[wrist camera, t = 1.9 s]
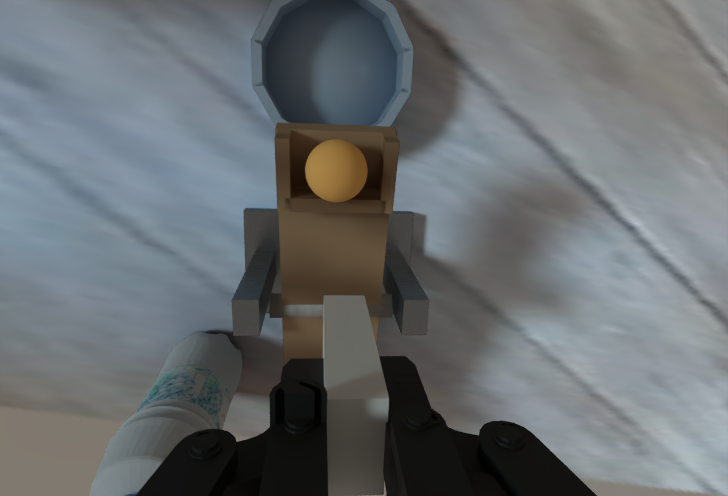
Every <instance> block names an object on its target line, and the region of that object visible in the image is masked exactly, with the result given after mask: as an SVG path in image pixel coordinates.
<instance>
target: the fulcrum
mask: <svg viewBox="0 0 728 496" xmlns="http://www.w3.org/2000/svg"><path fill="white" fill-rule="evenodd" d="M412 227H413V213H412V212H407V211H393V212H392V214H389V222H388V232H387V242H386V252H385V263H384V273H383V283H382V294H391V295H392V313H394V315H395V318H396V321H397V323H398V326H399V329H400V332H401V334H402V335H426V331H427V319H428V306H429V299H428V298H427V296H426V294H425V293H424V291H423V289H422V287H421V286H420V284H419V282H418V281H417V279H416V277H415V275H414V274H413V272H412V270H411V269H410V257H411V242H412ZM244 240H245V274H244V276H243V278H242V280H241V282H240V284H239V286H238V288H237V290H236V292H235V294H234V297H233V299H232V315H233V336H260V332H261V329H262V325H263V321H264V318H265V314H266V313H269V302H270V294H271V293H282V292H281V265H280V239H279V212H277V209H257V208H245V209H244Z"/></svg>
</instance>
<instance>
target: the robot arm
mask: <svg viewBox="0 0 728 496" xmlns="http://www.w3.org/2000/svg"><path fill="white" fill-rule="evenodd" d="M384 480H385V486H386V492H387V496H597V495H596V494H595V493H594V492H592V491H591V490H590V489H589V488H588V487H587V486H586V485H585V484H584V483H583V482H582V481H581V480H580V479H579V478H578V477H577V476H576V475H575V474H574V473H573V472H572V471H571V470H570V469H569V468H568V467H567V466H566V465H565V464H564V463H563V462H561V461H560V460H559V459H558V458H557V457H556V456H555V455H554V454H553V453H552V452H551V451H550V450H549V449H548V448H547V447H546V446H545V445H544V444H543V443H542V442H541V441H540V440H539V439H538V438H537V437H536V436H535V435H534V434H533V433H531V432H530V431H528V430H527V429H526V428H524V427H522V426H520V425H517V424H515V423H512V422H507V421H492V422H489V423H486V424H484V425H483V427H482V428H481V429H480V433H479V436H478V435H473V434H468V433H463V432H459V431H456V430H453V429H451V428H449V427H447V425H446V422H445V420H444V419H443V417H442V416H441V415H440V414H439V413H437V412H436V411H434V410H433V409H431V406H430V403H429V401H428V398H427V395H426V393H425V390H424V387H423V385H422V382H421V379H420V377H419V374H418V371H417V369H416V366H415V364H414V363H412V362H411V361H410V360H409V359H408V358H407V357H405V356H382V357H379V354H378V350H377V346H376V341H375V337H374V333H373V329H372V325H371V321H370V316H369V312H368V308H367V304H366V300H365V296H357V295H324V305H323V358H293V359H290V360H289V361H288V362H287V363H286V364H285V366H284V367H283V370H282V376H281V382H280V383H279V384H278V385H276V386H275V387H274V388H273V389H272V391H271V393H270V428H269V429H267V430H266V431H265V432H264V433H262V434H260V435H258V436H256V437H253V438H250V439H247V440H243V441H239V442H236V439H235V437H234V436H233V435H232V434H231V433H229V432H228V431H224V430H221V429H205V430H201V431H197V432H194V433H192V434H190V435H188V436H186V437H185V438H183V439H182V440H181V441H180V442H179V443H178V444H177V445H176V446H175V447H174V449H173V450H172V451H171V452H170V453H169V455H168V456H167V457H166V458H165V460H164V461H163V462H162V463H161V465H160V466H159V467H158V468H157V470H156V471H155V472H154V473H153V475H152V476H151V477H150V478H149V479H148V481H147V482H146V483H145V484H144V486H143V487H142V488H141V489H140V491H139V492H138V493H137V494H136V496H358V495H383V494H384Z"/></svg>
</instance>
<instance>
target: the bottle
mask: <svg viewBox="0 0 728 496" xmlns="http://www.w3.org/2000/svg"><path fill="white" fill-rule="evenodd" d="M241 374H242V355H241V352H240V350H239V349H238V348H235V347H234V346H233V344H232V343H231V342H230V340H229V338H228V336H227V335H225V334H223V333H220V334H208V333H206V332H205V331H198V332H195V333H193V334H192V335H190V336H189V337H187V338H186V339H184V340H182V341H181V342H180V343H178V344H177V345H176V346H175V347H174V348H173V350H172V351H171V353H170V354H169V356H168V358H167V360H166V361H165V363H164V366H163V368H162V370H161V372H160V374H159V376H158V379H157V380H156V382H155V383H154V385H153V386H152V388H151V390H150V391H149V393H148V394H147V396H146V398H145V399H144V401H143V402H142V404H141V406H140V407H139V409H138V410H137V412H136V413H135V414H134V415H132V416H131V417H129V418H128V419H127V420H126V421H125V422H124V423H123V425H122V426H121V428H120V429H119V431H118V432H117V433H116V434H115V435H114V437H113V438H112V439H111V441H110V443H109V445H108V447H107V450H106V453H105V456H104V458H103V461H102V463H101V465H100V467H99V470H98V472H97V474H96V477H95V479H94V481H93V484H92V487H91V491H90V496H136V494H137V493H138V492H139V491H140V489H141V488H142V487H143V486H144V484H145V483H146V482H147V481H148V479H149V478H150V477H151V476H152V475H153V473H154V472H155V471H156V470H157V468H158V467H159V466H160V465H161V463H162V462H163V461H164V460H165V458H166V457H167V456H168V455H169V453H170V452H171V451H172V450H173V449H174V447H175V446H176V445H177V444H178V443H179V442H180V441H181V440H182V439H183V438H185V437H186V436H188V435H190V434H192V433H194V432H197V431H201V430H205V429H221V430H222V428H223V425H224V422H225V419H226V415H227V412H228V409H229V406H230V403H231V401H232V399H233V396H234V394H235V392H236V390H237V387H238V384H239V382H240V378H241Z"/></svg>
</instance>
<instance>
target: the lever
mask: <svg viewBox="0 0 728 496" xmlns="http://www.w3.org/2000/svg"><path fill="white" fill-rule="evenodd" d="M275 131H276V136H275V160H276V186H277V212H279V239H280V265H281V292H282V293H271V294H270V302H269V314H270V318H282V319H283V346H284V366H285V364H286V363H287V362H288V361H289V360H290V359H293V358H323V305H324V295H357V296H365V300H366V304H367V308H368V312H369V316H370V321H371V325H372V329H373V333H374V337H375V341H376V345H377V335H378V324H379V317H391V316H392V295H391V294H382V283H383V273H384V263H385V252H386V242H387V232H388V222H389V214H392V212H393V202H394V192H395V182H396V172H397V163H398V153H399V141H398V138H397V132H396V130H395V127H388V126H362V125H335V124H308V123H282V122H277V125H276V129H275ZM331 139H341V140H345V141H348V142H350V143H352V144H354V145H355V146H356V147H357V148H358V149H359V150H360V151H361V152H362V154H363V155H364V157H365V160H366V163H367V169H368V173H367V179H366V182H365V185H364V187H363V188H362V190H361V191H360V192H359V193H358V194H357V195H356V196H355V197H353V198H351V199H349V200H347V201H343V202H330V201H327V200H324V199H322V198H320V197H319V196H317V195H316V194H315V193H314V192H313V191H312V189H311V188H310V186H309V184H308V182H307V179H306V175H305V166H306V162H307V159H308V156H309V155H310V153H311V151H312V150H313V149H314V148H315V147H316V146H317V145H319V144H320V143H322V142H324V141H327V140H331Z"/></svg>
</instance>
